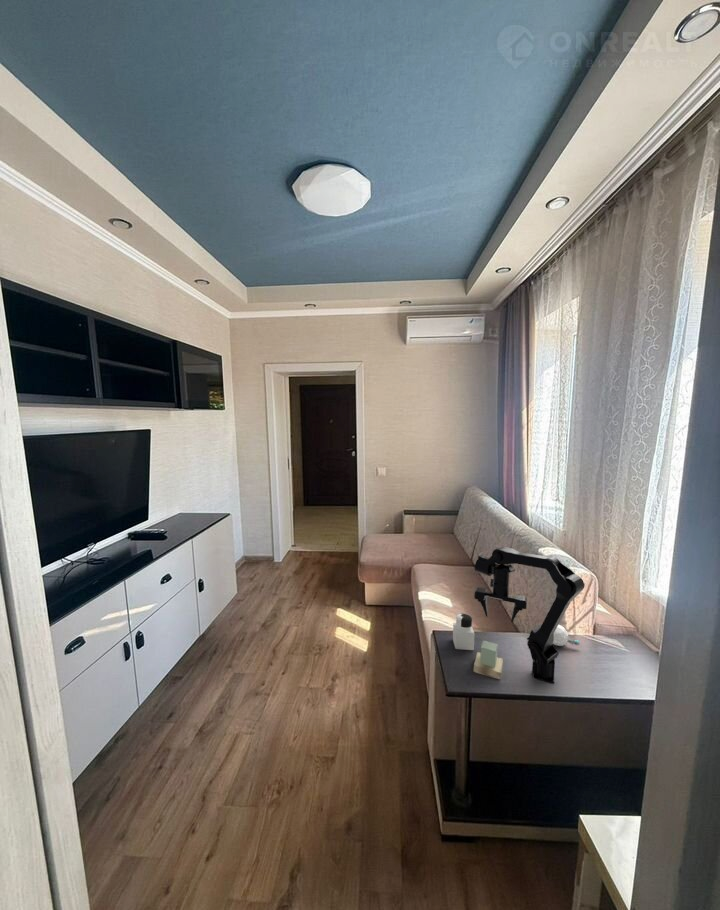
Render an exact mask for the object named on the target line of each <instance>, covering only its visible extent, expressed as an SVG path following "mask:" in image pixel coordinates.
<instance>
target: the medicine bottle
mask: <svg viewBox="0 0 720 910" xmlns="http://www.w3.org/2000/svg"><path fill="white" fill-rule="evenodd" d="M452 624H453V627H452V641H453V645H454V648H455V649H456V650H465V651H474V649H475V631H474V628H473V618H472V617H471V615H469V614H467V613H458V614H457V615H456V618H455V622H454V623H452Z"/></svg>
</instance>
